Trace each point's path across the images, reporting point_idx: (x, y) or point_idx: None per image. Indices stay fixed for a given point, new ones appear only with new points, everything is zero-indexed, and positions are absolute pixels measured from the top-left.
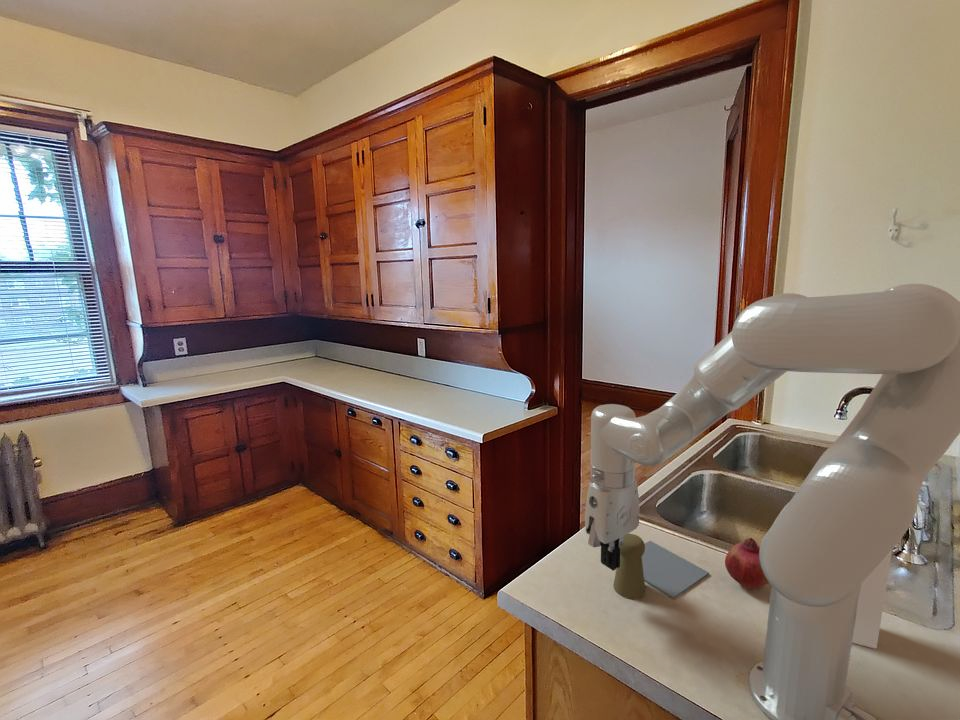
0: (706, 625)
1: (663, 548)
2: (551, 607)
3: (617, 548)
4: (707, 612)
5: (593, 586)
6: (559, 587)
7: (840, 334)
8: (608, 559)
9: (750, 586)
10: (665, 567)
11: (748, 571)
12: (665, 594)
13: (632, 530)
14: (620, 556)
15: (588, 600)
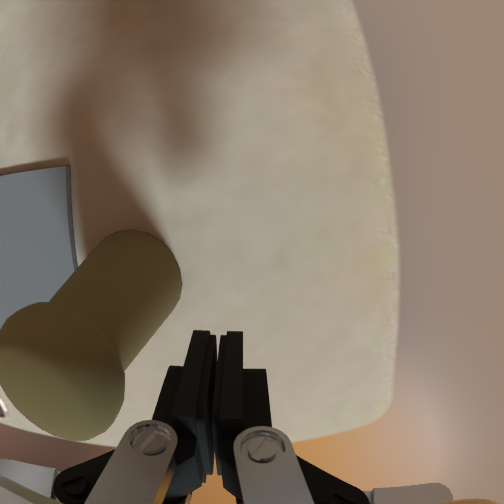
0: (92, 51)
1: None
2: (373, 351)
3: (189, 426)
4: (50, 84)
5: None
6: (299, 390)
7: None
8: (267, 392)
9: None
10: (7, 263)
11: None
12: (70, 193)
13: (8, 496)
14: (123, 369)
15: (280, 320)
